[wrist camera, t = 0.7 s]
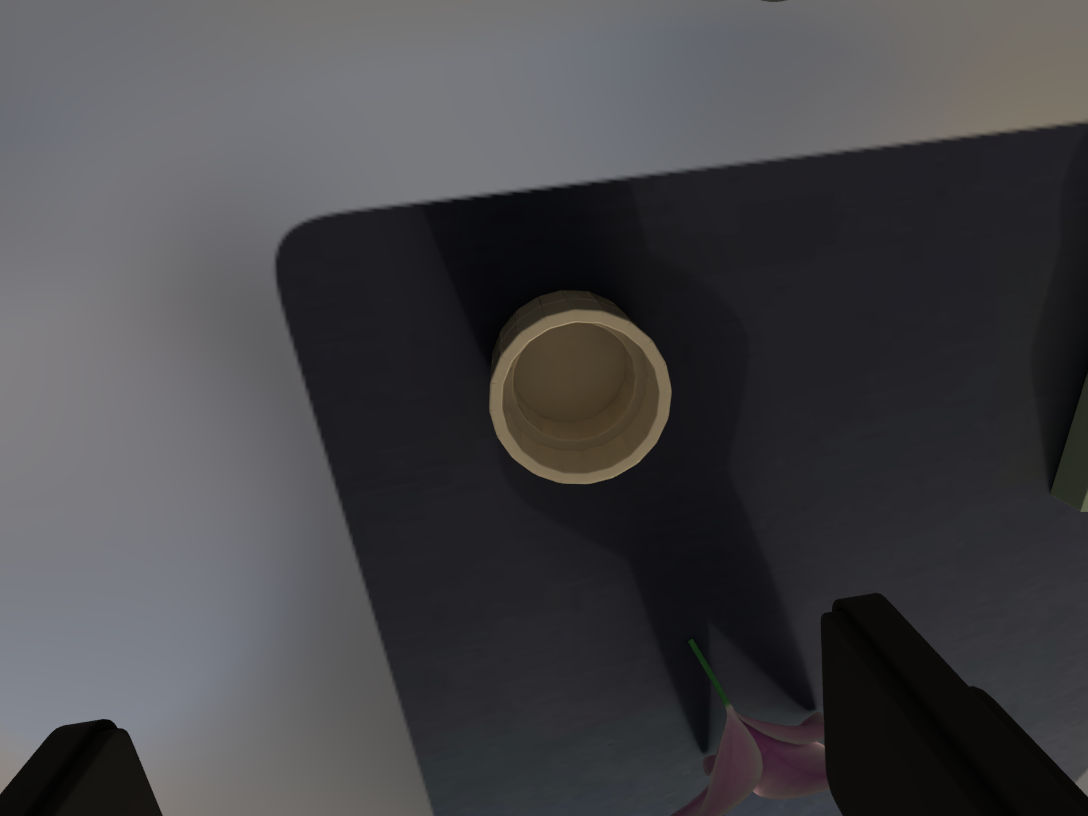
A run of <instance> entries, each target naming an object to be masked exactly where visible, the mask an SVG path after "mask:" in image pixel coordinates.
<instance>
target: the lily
mask: <svg viewBox="0 0 1088 816" xmlns="http://www.w3.org/2000/svg"><path fill="white" fill-rule="evenodd" d="M688 643H689V644H690V646H691V648H692V649H693V651H694V653H695V654H696V656H697V658H698V659H699V661H700V663H701V664H702V666H703V668H704V669H705V671H706V673H707V674H708V676H709V678H710V680H711V681H712V683H713V685H714V687H715V688H716V690H717V692H718V694H719V696H720V698H721V700H722V702H723V704H724V706H725V708H726V710H727V721H726V725H725V728H724V731H723V735H722V738H721V741H720V744H719V748H718V751H717V754H715V755H710V756H707V757H705V758H704V759H703V768H704V772H705V774H706V775H707V776H709V775H710V773H711V772H712V771H713V772H712V776H711V780H710V784H709V785H708V786H707V787H706V788H705V789H704V790H703V791H702V792H701V794H699V795H698V796H697V797H696V798H695V799H693V800H692V801H691V802H690V803H689V804H687V805H686V806H684V807H683V808H681V809H680V810H678V811H677V812H675V813H673V814H672V815H670V816H723V815H724V814H726V813H727V812H729V811H730V810H731V809H733V808H734V807H735V806H737V805H738V804H739V803H741V802H742V801H743V800H744V799H745V798H746V797H747V796H748V795H749V794H750V793H751V792H754V793H756V794H757V795H758V796H761V797H765V798H769V799H793V798H798V797H803V796H808V795H812V794H815V793H819V792H822V791H825V790H828V789H830V788H829V784H828V781H827V776H826V770H825V746H824V745H822V744H820V743H819V742H818V741H821V740H824V716H823V714H822V713H821V712H816V713H814V714H812V715H811V716H809V717H808V718H807V719H806V720H804V721H803V722H802V723H801V724H800V725H798V726H785V725H778V724H772V723H768V722H763V721H759V720H755V719H752V718H748V717H745V716H742V715H740V714H738V713H736V712H735V710H734V709H733V707H732V705H731V703H730V702H729V700H728V698H727V696H726V694H725V693H724V691H723V689H722V687H721V685H720V684H719V682H718V680H717V678H716V677H715V675H714V673H713V672H712V670H711V668H710V667H709V665H708V663H707V661H706V660H705V658H704V656H703V655H702V653H701V652H700V650H699V648H698V647H697V645H696V643H695V642H694V640H693V639H691V640H689V641H688Z"/></svg>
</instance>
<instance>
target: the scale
mask: <svg viewBox="0 0 1088 816" xmlns="http://www.w3.org/2000/svg"><path fill="white" fill-rule="evenodd" d="M1050 494H1051V495H1053V496H1055V497H1056V498H1058V499H1060V500H1062V501H1063V502H1065V503H1067V504H1069V505H1070V506H1072V507H1074V508H1076V509H1078V510H1079V511H1088V372H1087V376H1086V379H1085V382H1084V385H1083V389H1082V392H1081V395H1080V399H1079V402H1078V405H1077V408H1076V412H1075V415H1074V418H1073V421H1072V425H1071V428H1070V431H1069V434H1068V438H1067V441H1066V444H1065V447H1064V451H1063V454H1062V457H1061V460H1060V464H1059V467H1058V470H1057V473H1056V477H1055V480H1054V483H1053V486H1052V490H1051V493H1050Z"/></svg>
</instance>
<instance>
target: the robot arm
mask: <svg viewBox="0 0 1088 816" xmlns="http://www.w3.org/2000/svg"><path fill="white" fill-rule="evenodd" d="M821 643H822V676H823V709H824V742H825V770H826V776H827V781H828V784H829V788H830V791H831V793H832V796H833V798H834V800H835V802H836V804H837V806H838V808H839V810H840V811H841V813H842V815H843V816H1088V797H1087V796H1086V795H1085V794H1084V793H1083V791H1082V790H1081V789H1079V787H1078V786H1077V785H1076V784H1075V783H1074V782H1073V781H1072V780H1071V779H1070V778H1069V777H1068V776H1067V775H1066V774H1065V773H1064V772H1063V771H1062V770H1061V769H1060V768H1059V767H1058V765H1057V764H1056V763H1055V762H1054V761H1053V760H1052V759H1051V758H1050V757H1049V756H1048V755H1047V754H1046V753H1045V752H1044V751H1043V750H1042V749H1041V748H1040V747H1039V746H1038V745H1037V744H1036V743H1035V742H1034V741H1033V740H1032V738H1031V737H1030V736H1029V735H1028V734H1027V733H1026V732H1025V731H1024V730H1023V729H1022V728H1021V727H1020V726H1019V725H1018V724H1017V723H1016V722H1015V721H1014V720H1013V719H1012V718H1011V717H1010V716H1009V715H1008V714H1007V712H1006V711H1005V710H1004V709H1003V708H1002V707H1001V706H1000V705H999V704H998V703H997V702H996V701H995V700H994V699H993V698H992V697H991V696H989V695H988V694H987V693H986V692H985V691H983V690H982V689H979V688H976V687H974V686H971V687H969V686H968V685H967V684H966V683H965V682H964V681H963V680H962V679H961V678H960V677H959V676H958V675H957V674H956V672H955V671H954V670H953V669H952V668H951V667H950V666H949V665H948V664H947V663H946V662H945V661H944V660H943V659H942V658H941V656H940V655H939V654H938V653H937V652H936V651H935V650H934V649H933V648H932V647H931V646H930V645H929V644H928V643H927V641H926V640H925V639H924V638H923V637H922V636H921V635H920V634H919V633H918V632H917V631H916V630H915V629H914V628H913V627H912V625H911V624H910V623H909V622H908V621H907V620H906V619H905V618H904V617H903V616H902V615H901V614H900V613H899V612H898V611H897V609H896V608H895V607H894V606H893V605H892V604H891V603H890V602H889V601H888V600H887V599H886V598H885V597H884V596H883V595H881V594H878V593H873V594H867V595H861V596H855V597H849V598H843V599H837V600H836V601H834V603H833V606H832V612H828V613H824V614H822V617H821ZM0 816H162V813H161V811H160V808H159V806H158V803H157V801H156V798H155V796H154V794H153V791H152V789H151V787H150V784H149V781H148V779H147V777H146V774H145V772H144V769H143V767H142V764H141V762H140V760H139V757H138V755H137V752H136V750H135V747H134V745H133V743H132V740H131V738H130V736H129V734H128V732H127V731H126V730H124V729H121V728H117V726H116V725H115V723H113V722H112V721H111V720H107V719H101V720H95V721H89V722H82V723H77V724H70V725H64V726H61V727H59V728H56V729H55V730H54V731H53V732H52V733H51V734H50V735H49V736H48V737H47V738H46V740H45V741H44V742H43V743H42V745H41V746H40V747H39V748H38V749H37V750H36V752H35V753H34V754H33V755H32V756H31V758H30V759H29V760H28V761H27V763H26V764H25V765H24V766H23V767H22V769H21V770H20V771H19V772H18V773H17V775H16V776H15V777H14V778H13V779H12V781H11V782H10V783H9V784H8V786H7V787H6V788H5V789H4V790H3V792H2V793H1V794H0Z"/></svg>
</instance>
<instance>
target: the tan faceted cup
mask: <svg viewBox="0 0 1088 816" xmlns="http://www.w3.org/2000/svg"><path fill="white" fill-rule="evenodd" d="M671 393H672V391H671V384H670V379H669V374H668V369H667V365H666V364H665V360H664V359H663V357H662V355H661V354H660V352H659V350H658V349H657V347H656V345H655V344H654V342H653V341H652V339H651V338H650V337H649V336H648V335H647V334H646V333H645V332H644V331H643V330H642V329H641V328H640V327H639V326H638V325H637V324H636V322H635V321H634V320H633V319H632V318H631V317H630V316H629V315H628V314H626V313H625V312H624V311H623V310H622V309H621V308H619V307H618V306H617V305H616V304H615V303H613V302H612V301H610V300H609V299H606V298H604V297H601V296H598V295H596V294H593V293H591V292H586V291H571V290H564V291H562V290H561V291H557V292H553V293H549V294H546V295H542V296H539V297H537V298H535V299H533V300H532V301H530V302H529V303H527V304H526V305H524V306H523V307H521V308H519V309H518V310H517V311H516V312H515V313H514V314H513V315H512V317H511V318H510V319H509V320H508V322H507V323H506V324H505V325H504V326H503V328H502V329H501V331H500V334H499V336H498V339H497V341H496V344H495V347H494V349H493V353H492V363H491V378H490V398H489V409H490V410H489V411H490V415H491V418H492V422H493V425H494V428H495V432H496V435H497V437H498V438H499V440H500V441H501V443H502V444H503V446H504V447H505V448H506V450H507V451H508V453H509V454H510V455H511V457H512V458H513V459H514V460H516V461H517V462H518V463H520V464H521V465H522V466H524V467H525V468H527V469H528V470H529V471H531V472H532V473H535V475H538V476H541V477H544V478H547V479H550V480H552V481H555V482H558V483H571V484H587V483H588V484H590V483H594V482H598V481H602V480H606V479H610V478H613V477H615V476H617V475H619V474H621V473H622V472H624V471H626V470H627V469H629V468H631V467H632V466H634V465H636V464H637V462H640V460H641V459H642V458H643V457H644V456H645V455H646V454H647V453H648V452H649V451H650V450H651V448H652V447H653V446H654V445H655V444H656V442H657V441H658V439H659V437H660V435H661V432H662V430H663V428H664V426H665V424H666V422H667V420H668V417H669V410H670V402H671Z"/></svg>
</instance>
